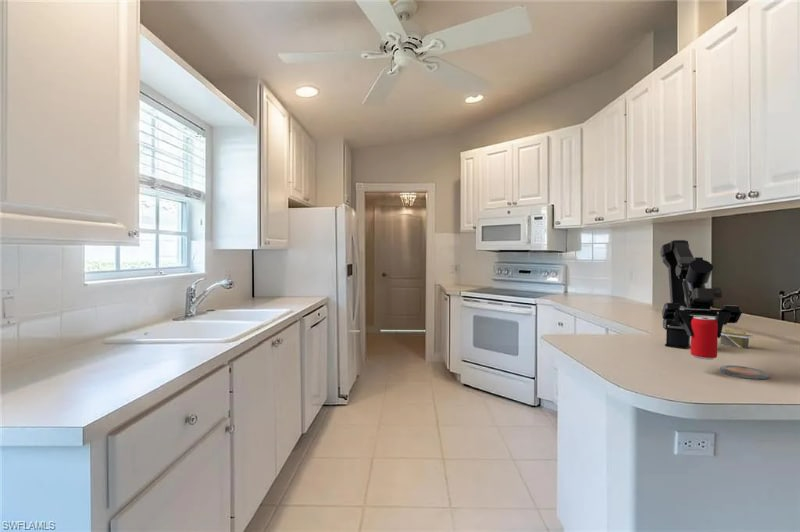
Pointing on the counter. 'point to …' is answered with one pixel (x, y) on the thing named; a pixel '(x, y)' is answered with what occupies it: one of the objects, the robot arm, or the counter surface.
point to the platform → (735, 338)
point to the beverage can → (704, 337)
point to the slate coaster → (744, 372)
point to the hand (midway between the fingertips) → (705, 336)
